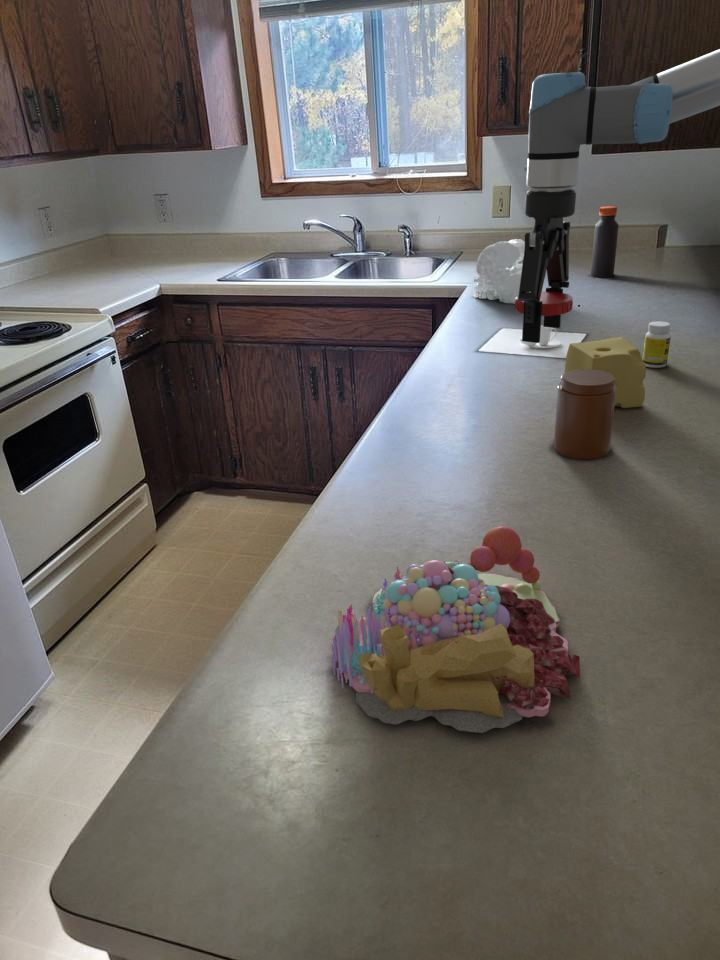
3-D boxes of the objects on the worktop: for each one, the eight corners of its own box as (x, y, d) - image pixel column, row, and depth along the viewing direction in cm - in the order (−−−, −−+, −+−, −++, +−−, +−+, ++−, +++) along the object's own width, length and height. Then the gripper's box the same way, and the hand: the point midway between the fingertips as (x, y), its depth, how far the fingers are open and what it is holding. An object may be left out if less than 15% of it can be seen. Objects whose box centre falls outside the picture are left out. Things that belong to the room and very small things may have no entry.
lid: (508, 314, 118) (509, 302, 118) (521, 301, 126) (522, 290, 125) (566, 317, 115) (567, 305, 114) (576, 304, 122) (577, 292, 121)
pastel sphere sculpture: (613, 728, 63) (625, 642, 59) (339, 755, 62) (332, 669, 58) (529, 568, 85) (534, 498, 81) (327, 586, 84) (321, 516, 80)
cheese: (644, 407, 129) (651, 351, 124) (585, 413, 127) (590, 357, 123) (615, 388, 138) (621, 335, 133) (561, 394, 137) (565, 341, 132)
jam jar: (607, 438, 118) (614, 368, 112) (612, 460, 110) (620, 386, 105) (552, 436, 119) (557, 367, 114) (554, 458, 112) (559, 385, 107)
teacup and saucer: (517, 348, 164) (518, 330, 162) (526, 338, 170) (527, 321, 168) (557, 351, 160) (558, 332, 158) (564, 341, 167) (566, 323, 165)
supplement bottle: (667, 369, 146) (672, 327, 143) (641, 367, 148) (646, 326, 144) (666, 361, 150) (672, 321, 147) (641, 360, 152) (646, 320, 148)
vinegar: (587, 276, 228) (593, 208, 219) (595, 272, 233) (600, 205, 224) (609, 278, 225) (616, 208, 216) (616, 274, 230) (623, 206, 221)
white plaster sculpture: (554, 274, 189) (492, 230, 192) (509, 337, 200) (451, 294, 203) (568, 264, 205) (510, 224, 207) (526, 323, 216) (471, 284, 218)
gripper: (551, 181, 122) (543, 316, 132) (499, 196, 106) (494, 348, 116) (597, 182, 118) (584, 320, 128) (550, 196, 102) (539, 354, 112)
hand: (541, 333), depth 122 cm, fingers closed on lid, 9 cm apart
